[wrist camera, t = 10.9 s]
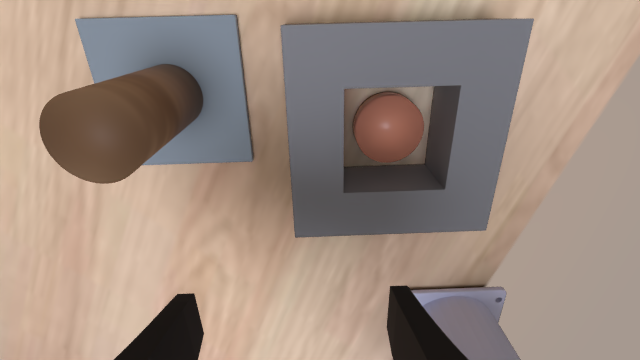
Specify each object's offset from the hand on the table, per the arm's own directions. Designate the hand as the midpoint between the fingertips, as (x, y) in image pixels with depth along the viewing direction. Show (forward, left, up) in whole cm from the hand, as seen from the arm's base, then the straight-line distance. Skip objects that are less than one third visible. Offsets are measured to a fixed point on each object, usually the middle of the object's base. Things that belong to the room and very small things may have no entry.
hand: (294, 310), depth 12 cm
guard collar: (+4, -5, -10) cm, 12 cm away
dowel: (+6, +7, -10) cm, 13 cm away
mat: (+6, +7, -10) cm, 14 cm away
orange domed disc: (+4, -5, -10) cm, 12 cm away
